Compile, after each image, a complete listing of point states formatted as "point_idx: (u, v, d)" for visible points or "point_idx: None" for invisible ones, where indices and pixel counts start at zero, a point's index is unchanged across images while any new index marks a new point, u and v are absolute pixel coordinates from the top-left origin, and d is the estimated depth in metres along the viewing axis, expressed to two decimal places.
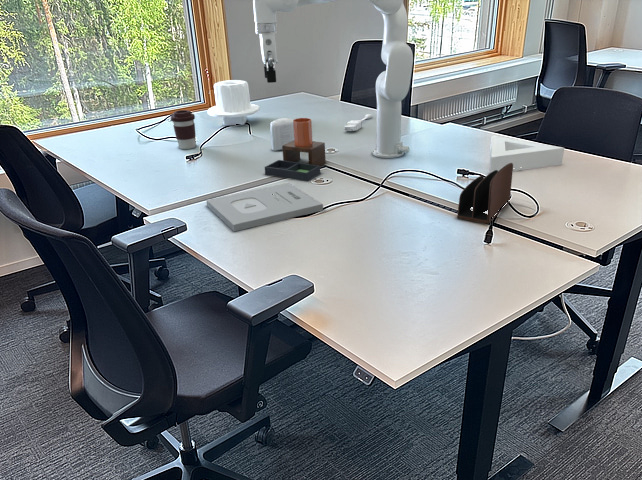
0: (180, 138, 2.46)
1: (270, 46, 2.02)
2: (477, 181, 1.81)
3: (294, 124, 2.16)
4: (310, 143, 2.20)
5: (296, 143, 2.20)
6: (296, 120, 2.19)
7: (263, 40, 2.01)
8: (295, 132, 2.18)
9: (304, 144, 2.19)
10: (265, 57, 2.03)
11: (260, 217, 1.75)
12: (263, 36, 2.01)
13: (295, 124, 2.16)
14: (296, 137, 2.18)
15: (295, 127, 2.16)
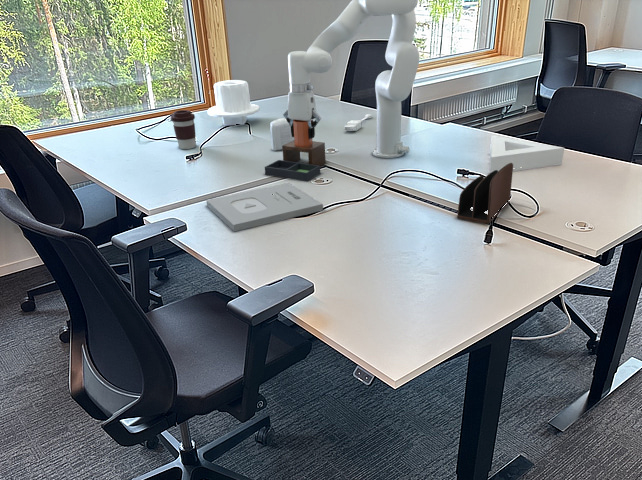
0: (180, 138, 2.46)
1: (313, 103, 2.13)
2: (477, 181, 1.81)
3: (294, 124, 2.16)
4: (310, 143, 2.20)
5: (296, 143, 2.20)
6: (296, 120, 2.19)
7: (308, 99, 2.10)
8: (295, 132, 2.18)
9: (304, 144, 2.19)
10: (311, 114, 2.13)
11: (260, 217, 1.75)
12: (308, 95, 2.10)
13: (295, 124, 2.16)
14: (296, 137, 2.18)
15: (295, 127, 2.16)
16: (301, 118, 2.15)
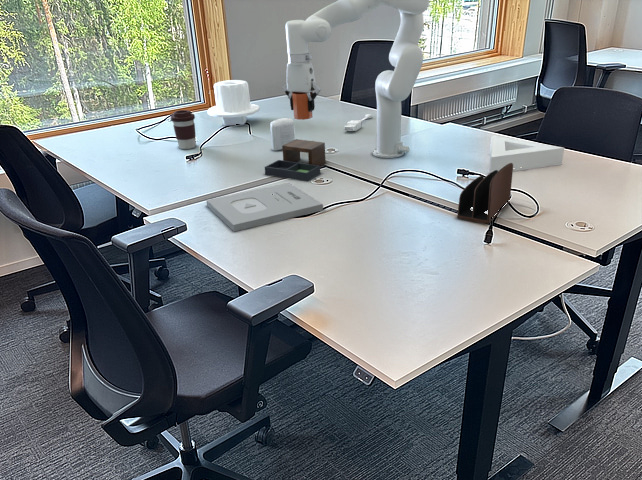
0: (180, 138, 2.46)
1: (312, 74, 2.07)
2: (477, 181, 1.81)
3: (293, 96, 2.11)
4: (310, 116, 2.15)
5: (296, 116, 2.15)
6: (295, 93, 2.14)
7: (307, 69, 2.05)
8: (294, 105, 2.13)
9: (304, 117, 2.14)
10: (310, 85, 2.08)
11: (260, 217, 1.75)
12: (306, 66, 2.05)
13: (294, 97, 2.11)
14: (295, 110, 2.13)
15: (294, 99, 2.11)
16: (300, 90, 2.10)
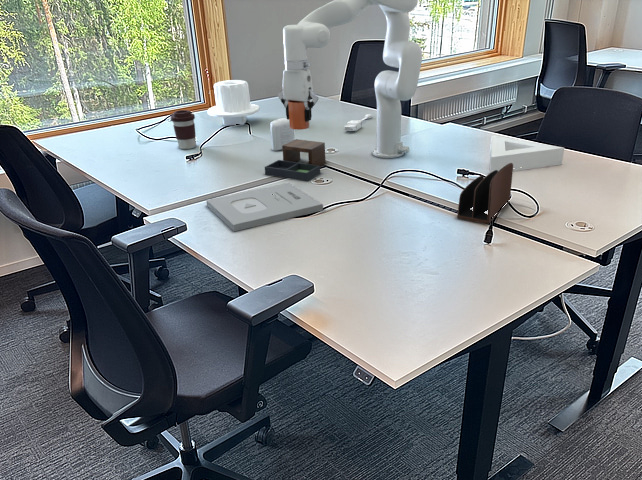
0: (180, 138, 2.46)
1: (310, 82, 1.96)
2: (477, 181, 1.81)
3: (289, 105, 2.00)
4: (306, 126, 2.03)
5: (291, 126, 2.03)
6: (291, 101, 2.03)
7: (305, 77, 1.94)
8: (290, 114, 2.01)
9: (300, 127, 2.02)
10: (307, 94, 1.96)
11: (260, 217, 1.75)
12: (304, 73, 1.93)
13: (290, 105, 2.00)
14: (291, 119, 2.02)
15: (290, 108, 2.00)
16: (297, 98, 1.98)
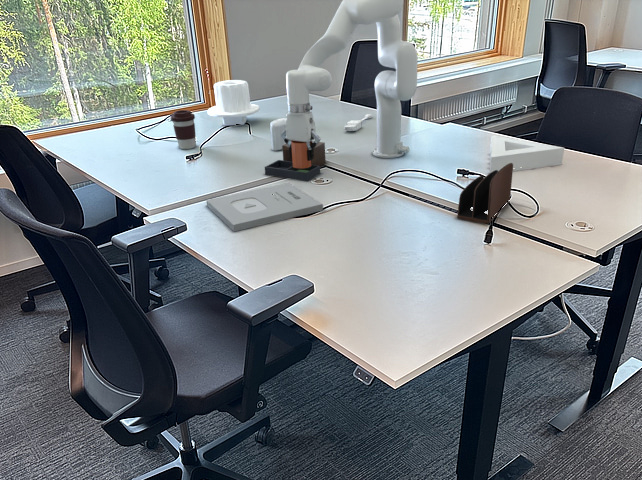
0: (180, 138, 2.46)
1: (312, 124, 2.03)
2: (477, 181, 1.81)
3: (292, 145, 2.07)
4: (309, 165, 2.10)
5: (294, 165, 2.10)
6: (294, 141, 2.10)
7: (307, 119, 2.01)
8: (293, 154, 2.08)
9: (302, 166, 2.09)
10: (309, 135, 2.03)
11: (260, 217, 1.75)
12: (307, 116, 2.00)
13: (293, 146, 2.07)
14: (294, 159, 2.09)
15: (293, 148, 2.07)
16: (300, 139, 2.05)
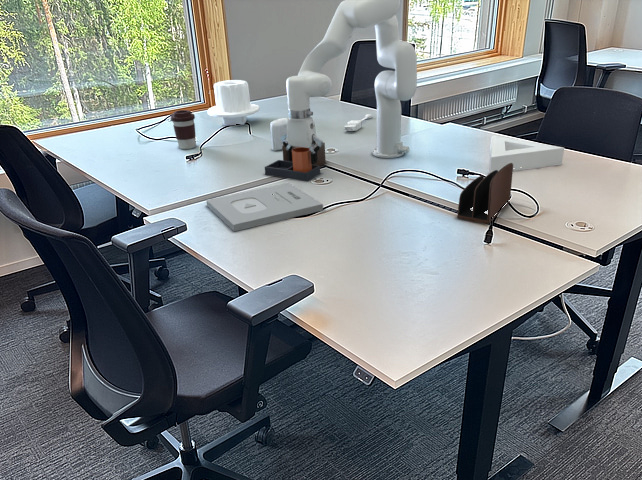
0: (180, 138, 2.46)
1: (313, 129, 2.04)
2: (477, 181, 1.81)
3: (293, 154, 2.08)
4: None
5: None
6: (295, 149, 2.12)
7: (308, 125, 2.02)
8: (293, 162, 2.10)
9: None
10: (310, 141, 2.04)
11: (260, 217, 1.75)
12: (307, 121, 2.01)
13: (293, 154, 2.08)
14: (295, 167, 2.10)
15: (294, 157, 2.09)
16: (301, 145, 2.06)
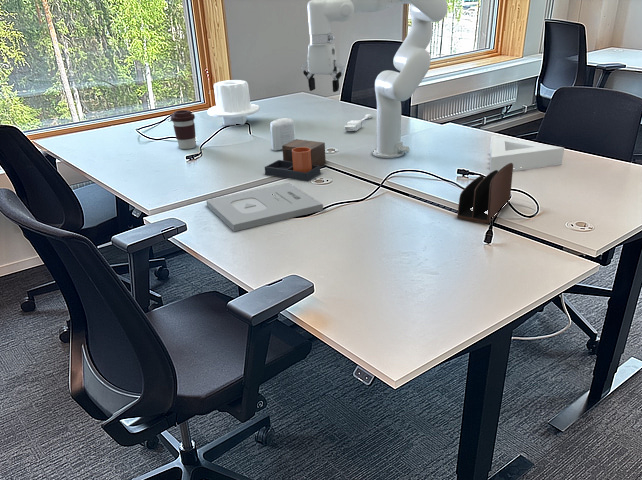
0: (180, 138, 2.46)
1: (334, 55, 2.03)
2: (477, 181, 1.81)
3: (293, 154, 2.08)
4: None
5: None
6: (295, 149, 2.12)
7: (329, 50, 2.00)
8: (293, 162, 2.10)
9: None
10: (332, 67, 2.03)
11: (260, 217, 1.75)
12: (329, 46, 2.00)
13: (293, 154, 2.08)
14: (295, 167, 2.10)
15: (294, 157, 2.09)
16: (322, 72, 2.05)
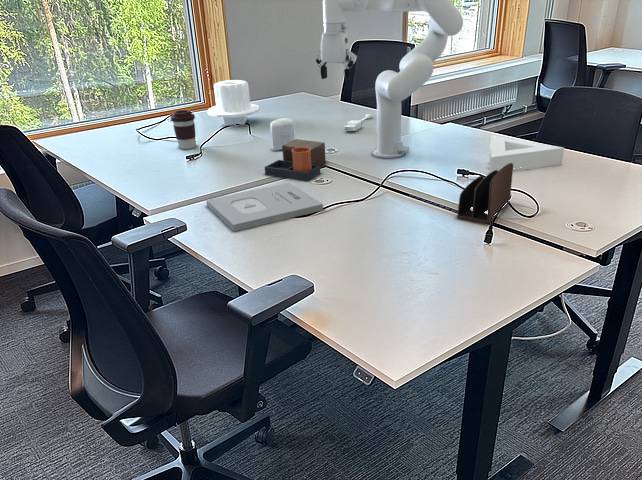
0: (180, 138, 2.46)
1: (347, 44, 2.07)
2: (477, 181, 1.81)
3: (293, 154, 2.08)
4: None
5: None
6: (295, 149, 2.12)
7: (343, 39, 2.04)
8: (293, 162, 2.10)
9: None
10: (345, 55, 2.07)
11: (260, 217, 1.75)
12: (342, 35, 2.04)
13: (293, 154, 2.08)
14: (295, 167, 2.10)
15: (294, 157, 2.09)
16: (335, 60, 2.09)
